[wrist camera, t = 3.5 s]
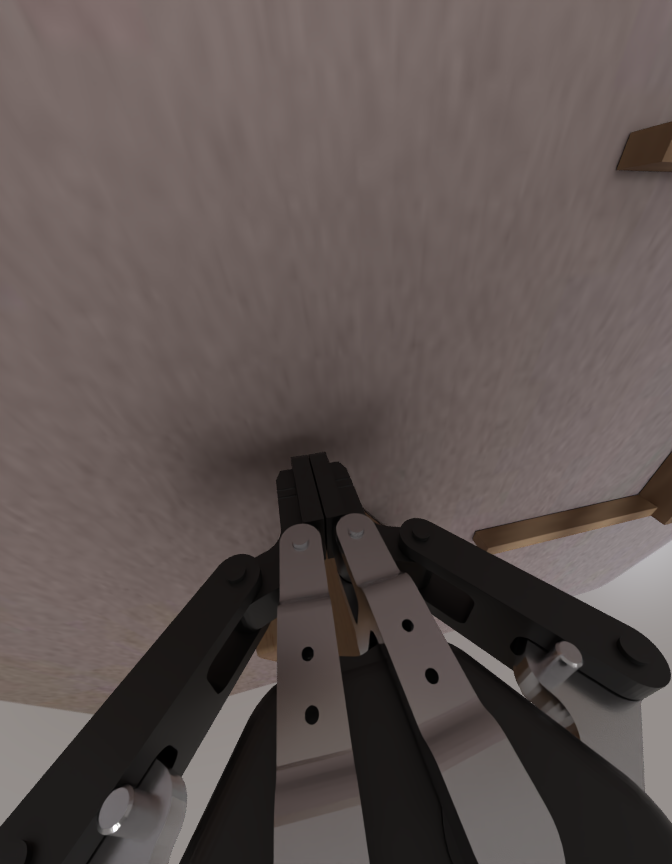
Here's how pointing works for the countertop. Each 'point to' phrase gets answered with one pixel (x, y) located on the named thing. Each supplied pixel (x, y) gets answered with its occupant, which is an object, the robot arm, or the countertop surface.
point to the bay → (668, 489)
